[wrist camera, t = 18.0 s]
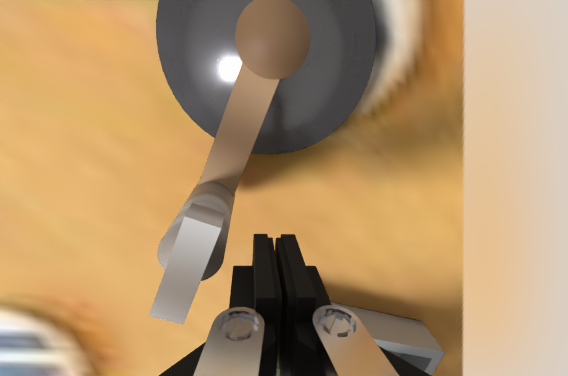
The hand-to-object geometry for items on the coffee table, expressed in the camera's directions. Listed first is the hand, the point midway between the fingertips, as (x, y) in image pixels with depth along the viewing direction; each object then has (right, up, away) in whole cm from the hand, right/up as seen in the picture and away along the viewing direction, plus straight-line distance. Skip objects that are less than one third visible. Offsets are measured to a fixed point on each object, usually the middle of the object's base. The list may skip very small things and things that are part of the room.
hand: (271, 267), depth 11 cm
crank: (-2, +7, +5) cm, 9 cm away
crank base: (0, +11, +5) cm, 13 cm away
